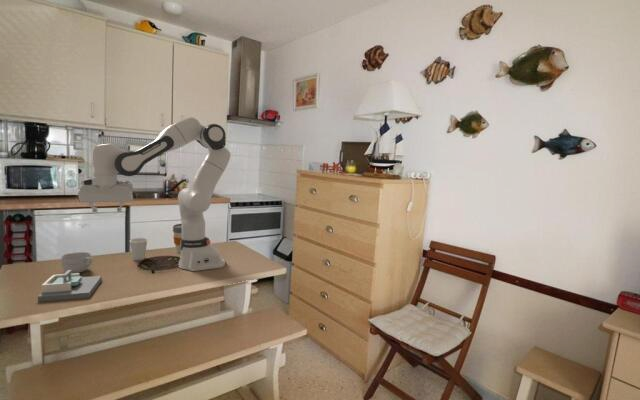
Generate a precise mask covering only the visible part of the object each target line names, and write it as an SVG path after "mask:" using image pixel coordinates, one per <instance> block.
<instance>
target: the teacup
mask: <svg viewBox="0 0 640 400" xmlns="http://www.w3.org/2000/svg"><path fill="white" fill-rule="evenodd" d="M91 255H92V254H91V253H90V252H82V251H81V252H71V253H69V252H68V253H66V254H63V255H61V268H62V270H63V271H64V272H67V271H68V270H72V272H71V274H74V273H80V274H81V273H83V272H85V271H87V270H88V269H89V268H90V266H91V265H92V264H93V261H92V258H91Z"/></svg>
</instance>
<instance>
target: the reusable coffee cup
mask: <svg viewBox="0 0 640 400" xmlns="http://www.w3.org/2000/svg"><path fill="white" fill-rule="evenodd" d="M172 232H173V235H172V236H173V244H174V245H175V251H176V254H180V255H181V245H180V242H181V238H182V223H176V224H174V225H172Z"/></svg>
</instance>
